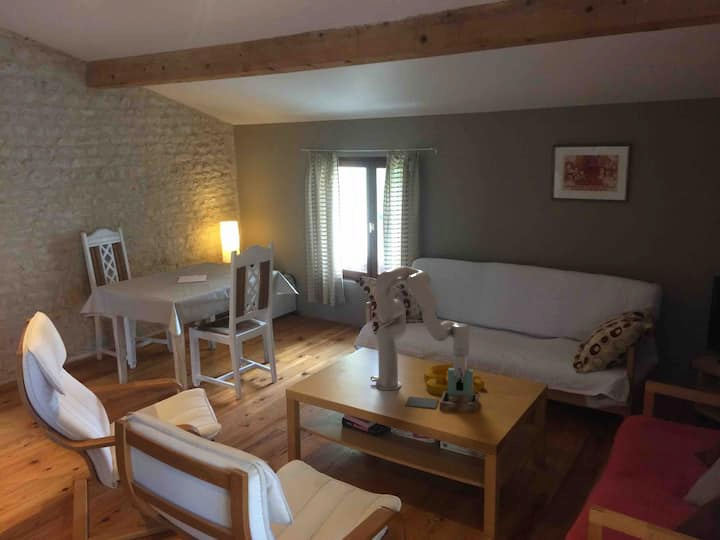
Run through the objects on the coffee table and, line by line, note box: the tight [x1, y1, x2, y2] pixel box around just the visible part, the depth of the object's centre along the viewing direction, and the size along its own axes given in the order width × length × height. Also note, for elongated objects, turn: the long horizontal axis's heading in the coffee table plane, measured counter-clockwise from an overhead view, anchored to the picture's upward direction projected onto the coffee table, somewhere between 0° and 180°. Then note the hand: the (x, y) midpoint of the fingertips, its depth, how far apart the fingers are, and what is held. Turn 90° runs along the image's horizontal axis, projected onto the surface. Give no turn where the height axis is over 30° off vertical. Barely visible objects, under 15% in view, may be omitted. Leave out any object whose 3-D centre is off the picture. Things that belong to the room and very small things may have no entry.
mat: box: [404, 395, 440, 410], centre depth 282 cm, size 14×10×1 cm
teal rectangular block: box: [447, 367, 474, 402], centre depth 280 cm, size 11×3×16 cm, turn 74°
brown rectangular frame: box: [439, 391, 479, 414], centre depth 278 cm, size 16×13×4 cm
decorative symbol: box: [423, 364, 485, 396], centre depth 304 cm, size 30×5×30 cm
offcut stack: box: [449, 395, 474, 404], centre depth 276 cm, size 11×4×5 cm, turn 75°
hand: (461, 386), depth 280 cm, fingers open, 9 cm apart
